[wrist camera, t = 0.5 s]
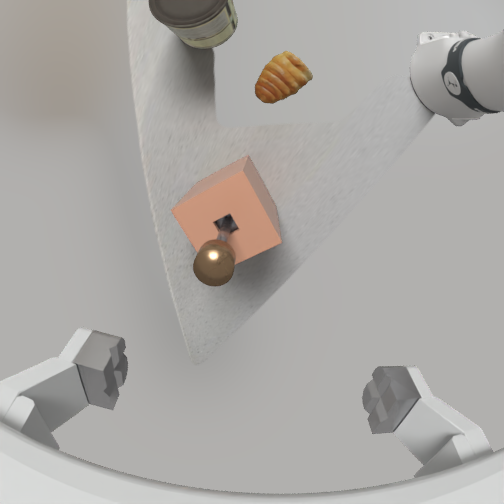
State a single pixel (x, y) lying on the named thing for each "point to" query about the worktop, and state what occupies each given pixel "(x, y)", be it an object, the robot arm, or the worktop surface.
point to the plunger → (217, 256)
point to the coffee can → (197, 20)
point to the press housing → (231, 210)
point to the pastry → (282, 78)
